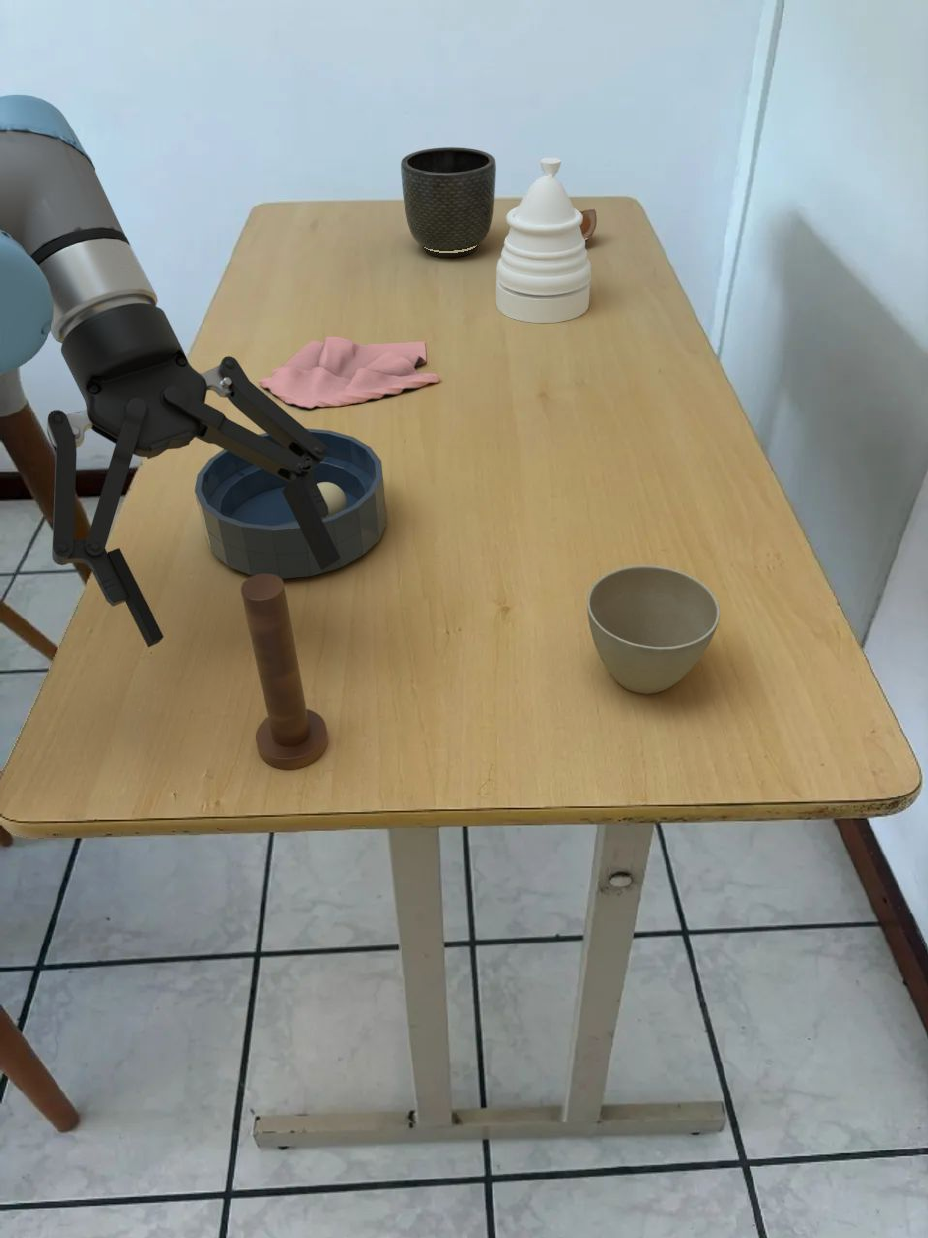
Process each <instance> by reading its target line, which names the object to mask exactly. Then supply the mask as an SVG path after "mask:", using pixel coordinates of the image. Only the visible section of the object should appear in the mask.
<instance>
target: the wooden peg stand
mask: <svg viewBox="0 0 928 1238" xmlns="http://www.w3.org/2000/svg"><path fill="white" fill-rule="evenodd" d="M240 586H241V587H240V594H241V598H242V603H243V607H244V612H245V616H246V622H247V626H248V631H249V635H250V640H251V645H252V649H253V654H254V658H255V663H256V668H257V672H258V676H259V682H260V686H261V691H262V696H263V700H264V705H265V709H266V713H267V717H266V718H265V719H264V720H262V722H260V724H259V726H258V728H257V730H256V734H255V741H256V745H257V750H258V754H259V756H260V758H261V759H262V760H263V761H264V762H265V763H266V764H267V765H269V766H270V767H272V768H276V769H280V770H297V769H301V768H304V767H307V766H309V765H311V764H313V763H314V762H316V761H317V760H319V758H320V757H321V756H322V755H323V754H324V753H325V751H326V749H327V747H328V743H329V738H328V737H329V736H328V731H327V730H328V729H327V726H326V725H327V724H326V722H325V720H324V718H323V717H322V716H321V715H320V714H319V713H317V712H316V711H313V710H312V709H309V708H307V704H306V699H305V693H304V688H303V682H302V676H301V671H300V665H299V659H298V654H297V649H296V643H295V642H296V641H295V638H294V637H295V636H294V631H293V626H292V620H291V615H290V609H289V603H288V599H287V591H286V586H285V582H284V580H283V579H281V578H280V577H279V576H277V575H274V574H258V575H254V576H253V575H251V576H250V577H248V578H247V579H245V581H243V582H242V584H241V585H240Z"/></svg>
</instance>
